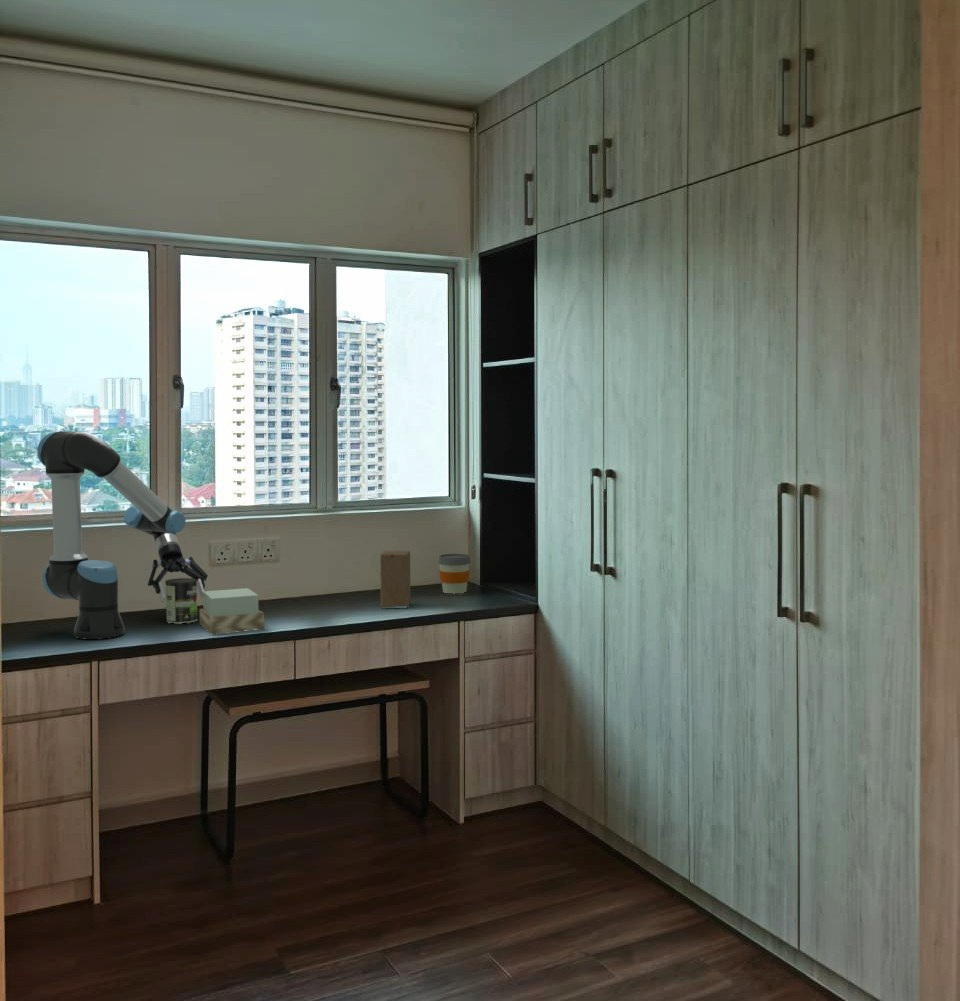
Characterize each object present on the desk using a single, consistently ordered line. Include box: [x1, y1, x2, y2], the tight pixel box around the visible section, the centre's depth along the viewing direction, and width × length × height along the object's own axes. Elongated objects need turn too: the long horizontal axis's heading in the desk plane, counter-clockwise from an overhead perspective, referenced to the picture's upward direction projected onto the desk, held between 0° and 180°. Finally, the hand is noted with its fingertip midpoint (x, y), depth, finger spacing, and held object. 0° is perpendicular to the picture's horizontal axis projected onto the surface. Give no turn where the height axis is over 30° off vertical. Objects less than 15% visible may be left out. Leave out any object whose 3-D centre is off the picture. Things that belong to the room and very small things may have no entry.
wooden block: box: [379, 550, 411, 608], centre depth 371 cm, size 10×10×20 cm
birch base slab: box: [198, 608, 265, 635], centre depth 335 cm, size 17×17×6 cm
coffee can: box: [164, 577, 198, 625], centre depth 344 cm, size 10×10×14 cm
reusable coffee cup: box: [438, 553, 472, 594], centre depth 397 cm, size 13×13×15 cm
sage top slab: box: [202, 587, 259, 617], centre depth 334 cm, size 15×15×6 cm
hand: (183, 598), depth 344 cm, fingers open, 13 cm apart
